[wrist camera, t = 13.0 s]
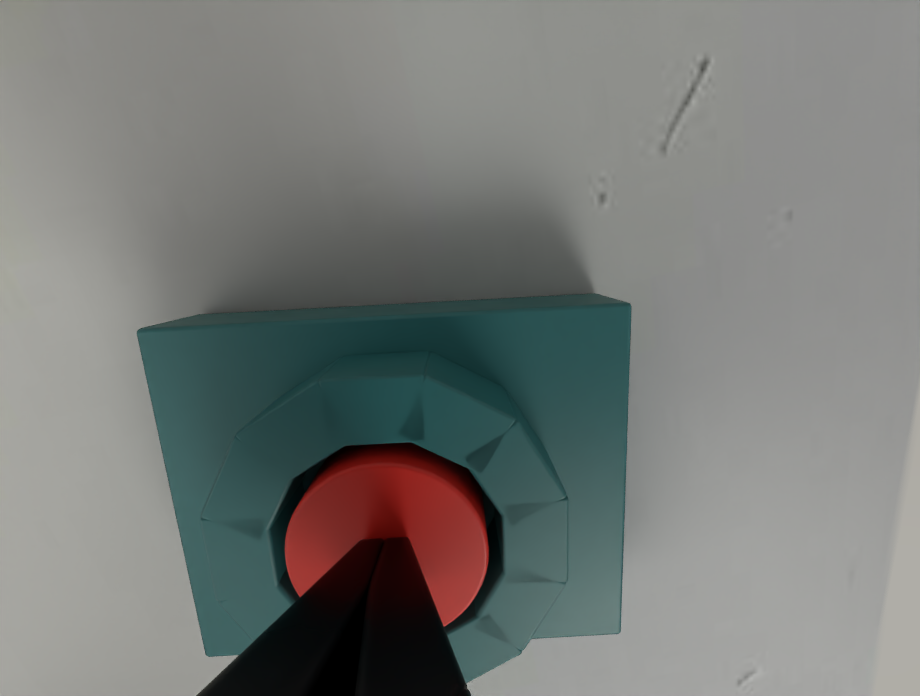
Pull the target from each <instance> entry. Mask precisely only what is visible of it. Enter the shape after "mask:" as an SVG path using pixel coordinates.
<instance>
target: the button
mask: <svg viewBox="0 0 920 696" xmlns="http://www.w3.org/2000/svg"><path fill="white" fill-rule="evenodd" d="M393 537H408V538H409V539H410V542H411V544H412V547H413V549H414V552H415V555H416V557H417V560H418V562H419V565H420V567H421V570H422V572H423V575H424V577H425V580H426V583H427V585H428V588H429V590H430V593H431V595H432V598H433V600H434V603H435V606H436V608H437V611H438V613H439V616H440V618H441V621H442V623H443V626H446V625H448V624H449V623H451V622H452V621H454V620H455V619H456V618H457V617H458V616H460V615H461V614H462V613H463V612H464V611H465V610H466V609H467V607H468V606H469V605H470V604H471V603H472V601H473V600H474V598H475V597H476V595H477V593H478V591H479V589H480V588H481V586H482V584H483V581H484V578H485V575H486V572H487V566H488V561H489V546H488V537H487V529H486V521H485V512H484V504H483V496H482V489H481V486H480V485H479V483H478V482H477V481H476V479H475V478H474V476H473V475H472V474H471V472H470V471H469V469H468V468H465V467H463V466H461V465H459V464H457V463H455V462H452V461H450V460H448V459H446V458H444V457H442V456H439V455H437V454H435V453H433V452H431V451H429V450H427V449H424V448H422V447H420V446H418V445H416V444H414V443H411V442H406V443H388V444H369V445H351V446H345V447H343V448H341V449H340V450H338V451H337V452H335V453H333V454H332V455H330V456H329V457H328V458H327V459H326V460H325V462H324V463H323V465H322V467H321V468H320V470H319V471H318V473H317V475H316V476H315V478H314V479H313V481H312V483H311V484H310V486H309V488H308V489H307V491H306V492H305V494H304V496H303V497H302V499H301V500H300V502H299V504H298V505H297V507H296V509H295V511H294V512H293V514H292V517H291V519H290V522H289V524H288V528H287V532H286V537H285V560H286V566H287V570H288V574H289V577H290V580H291V582H292V585H293V587H294V588H295V590H296V592H297V594H298V595H299V597H301V596H302V595H303V594H304V593H305V592H306V591H307V590H308V589H309V588H310V587H311V586H312V585H313V584H314V583H315V582H317V581H318V580H319V579H320V578H321V577H322V576H323V575H324V574H325V573H326V572H327V571H328V570H329V569H330V568H331V567H332V566H333V565H334V564H335V563H337V562H338V561H339V560H340V559H341V558H342V557H343V556H344V555H345V554H346V553H347V552H348V551H349V550H350V549H351V548H352V547H353V546H354V545H355V544H356V543H358V542H359V541H360V540H362V539H375V538H382V539H383V540H384V541H385V540H386V539H387V538H393Z"/></svg>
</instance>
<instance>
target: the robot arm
mask: <svg viewBox="0 0 920 696" xmlns="http://www.w3.org/2000/svg"><path fill="white" fill-rule="evenodd" d="M197 696H471V694H470V691H469V690H468V689H467V685H466V682H465V679H464V677H463V674H462V672H461V669H460V667H459V664H458V662H457V659H456V657H455V654H454V651H453V649H452V646H451V644H450V641H449V639H448V636H447V634H446V631H445V628H444V626H443V623H442V621H441V618H440V616H439V613H438V611H437V608H436V606H435V603H434V600H433V598H432V595H431V593H430V590H429V588H428V585H427V583H426V580H425V577H424V575H423V572H422V570H421V567H420V565H419V562H418V560H417V557H416V555H415V552H414V549H413V547H412V544H411V542H410V539H409V538H408V537H393V538H387V539H386V540H385V541H384V540H383V539H382V538H375V539H362V540H360V541H359V542H358V543H356V544H355V545H354V546H353V547H352V548H351V549H350V550H349V551H348V552H347V553H346V554H345V555H344V556H343V557H342V558H341V559H340V560H339V561H338V562H337V563H335V564H334V565H333V566H332V567H331V568H330V569H329V570H328V571H327V572H326V573H325V574H324V575H323V576H322V577H321V578H320V579H319V580H318V581H317V582H315V583H314V584H313V585H312V586H311V587H310V588H309V589H308V590H307V591H306V592H305V593H304V594H303V595H302V596H301V597H300V598H299V599H298V600H297V601H296V602H294V603H293V604H292V605H291V606H290V607H289V608H288V609H287V610H286V611H285V612H284V613H283V614H282V615H281V616H280V617H279V618H278V619H277V620H276V621H275V622H273V623H272V624H271V625H270V626H269V627H268V628H267V629H266V630H265V631H264V632H263V633H262V634H261V635H260V636H259V637H258V638H257V639H256V640H255V641H253V642H252V643H251V644H250V645H249V646H248V647H247V648H246V649H245V650H244V651H243V652H242V653H241V654H240V655H239V656H238V657H237V658H236V659H235V660H234V661H232V662H231V663H230V664H229V665H228V666H227V667H226V668H225V669H224V670H223V671H222V672H221V673H220V674H219V675H218V676H217V677H216V678H215V679H214V680H213V681H211V682H210V683H209V684H208V685H207V686H206V687H205V688H204V689H203V690H202V691H201V692H200V693H199V694H198V695H197Z"/></svg>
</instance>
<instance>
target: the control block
mask: <svg viewBox="0 0 920 696" xmlns="http://www.w3.org/2000/svg"><path fill="white" fill-rule="evenodd" d="M630 334H631V304H630V303H627V302H624V301H620V300H617V299H613V298H609V297H606V296H602V295H599V294H595V293H594V294H576V295H557V296H538V297H519V298H500V299H481V300H462V301H444V302H425V303H406V304H387V305H368V306H349V307H330V308H311V309H293V310H274V311H255V312H236V313H217V314H199V315H195V316H190V317H186V318H182V319H178V320H174V321H169V322H165V323H161V324H157V325H152V326H148V327H144V328H141V329H139V330H138V331H137V337H138V341H139V346H140V351H141V355H142V360H143V364H144V369H145V374H146V378H147V383H148V388H149V392H150V397H151V402H152V406H153V411H154V416H155V420H156V425H157V430H158V434H159V439H160V444H161V448H162V453H163V458H164V462H165V467H166V472H167V476H168V481H169V486H170V490H171V495H172V500H173V504H174V509H175V514H176V518H177V523H178V528H179V532H180V537H181V542H182V546H183V551H184V556H185V560H186V565H187V570H188V574H189V579H190V584H191V588H192V593H193V597H194V602H195V607H196V611H197V616H198V621H199V625H200V630H201V635H202V639H203V644H204V649H205V653H206V655H207V656H209V657H213V656H231V655H240V654H241V653H242V652H243V651H244V650H245V649H246V648H247V647H248V646H249V645H250V644H251V643H252V642H253V641H255V640H256V639H257V638H258V637H259V636H260V635H261V634H262V633H263V632H264V631H265V630H266V629H267V628H268V627H269V626H270V625H271V624H272V623H273V622H275V621H276V620H277V619H278V618H279V617H280V616H281V615H282V614H283V613H284V612H285V611H286V610H287V609H288V608H289V607H290V606H291V605H292V604H293V603H294V602H296V601H297V600H298V599H299V598H300V597H299V595H298V594H297V592H296V590H295V588H294V587H293V585H292V582H291V580H290V577H289V574H288V570H287V566H286V560H285V537H286V532H287V528H288V524H289V522H290V519H291V517H292V514H293V512H294V511H295V509H296V507H297V505H298V504H299V502H300V500H301V499H302V497H303V496H304V494H305V492H306V491H307V489H308V488H309V486H310V484H311V483H312V481H313V479H314V478H315V476H316V475H317V473H318V471H319V470H320V468H321V467H322V465H323V463H324V462H325V460H326V459H327V458H328V457H329V456H330V455H332V454H333V453H335V452H337V451H338V450H340V449H341V448H343V447H345V446H351V445H369V444H388V443H406V442H411V443H414V444H416V445H418V446H420V447H422V448H424V449H427V450H429V451H431V452H433V453H435V454H437V455H439V456H442V457H444V458H446V459H448V460H450V461H452V462H455V463H457V464H459V465H461V466H463V467H465V468H468V469H469V471H470V472H471V474H472V475H473V476H474V478H475V479H476V481H477V482H478V483H479V485H480V486H481V489H482V496H483V504H484V512H485V521H486V529H487V537H488V546H489V561H488V566H487V572H486V575H485V578H484V581H483V584H482V586H481V588H480V589H479V591H478V593H477V595H476V597H475V598H474V600H473V601H472V603H471V604H470V605H469V606H468V607H467V609H466V610H465V611H464V612H463V613H462V614H461V615H460V616H458V617H457V618H456V619H455V620H454V621H452V622H451V623H449V624H448V625H446V626H444V628H445V631H446V634H447V636H448V639H449V641H450V644H451V646H452V649H453V651H454V654H455V657H456V659H457V662H458V664H459V667H460V669H461V672H462V674H463V677H464V679H465V682H466V683H468V682H469V681H471V680H473V679H475V678H477V677H479V676H481V675H482V674H484V673H486V672H488V671H490V670H492V669H494V668H495V667H497V666H499V665H501V664H503V663H505V662H506V661H508V660H510V659H512V658H514V657H516V656H518V655H519V654H521V653H522V650H524V649H525V647H526V646H527V644H528V643H529V641H530V640H531V639H536V638H553V637H571V636H589V635H607V634H618V633H620V631H621V603H622V573H623V543H624V513H625V483H626V454H627V424H628V394H629V364H630Z"/></svg>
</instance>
